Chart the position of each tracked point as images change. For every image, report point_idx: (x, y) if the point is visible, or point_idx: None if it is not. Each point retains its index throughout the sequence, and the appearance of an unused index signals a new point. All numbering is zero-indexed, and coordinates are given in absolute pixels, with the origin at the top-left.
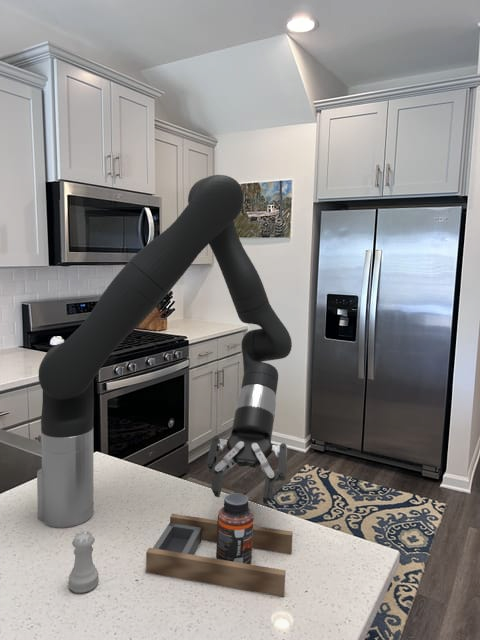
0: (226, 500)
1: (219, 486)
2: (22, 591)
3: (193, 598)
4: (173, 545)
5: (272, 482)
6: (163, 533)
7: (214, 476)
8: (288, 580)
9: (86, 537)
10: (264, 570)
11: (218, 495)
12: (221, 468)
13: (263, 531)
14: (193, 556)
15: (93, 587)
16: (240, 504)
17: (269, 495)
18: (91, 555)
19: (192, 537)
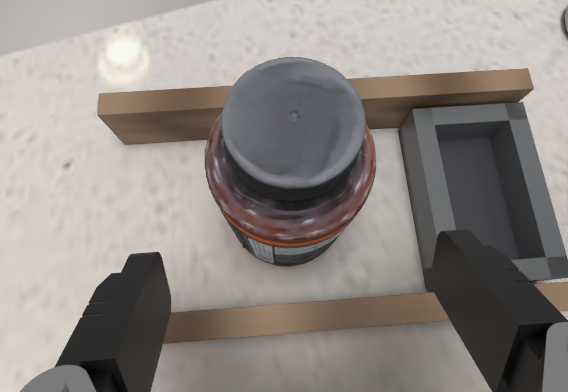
0: (340, 79)
1: (460, 265)
2: None
3: (337, 60)
4: (491, 219)
5: (68, 361)
6: (548, 205)
7: (551, 312)
8: (117, 190)
9: None
10: (161, 95)
11: (435, 254)
12: (553, 351)
13: (201, 310)
14: (386, 91)
15: (565, 15)
16: (253, 69)
17: (113, 282)
18: None
19: (445, 215)
